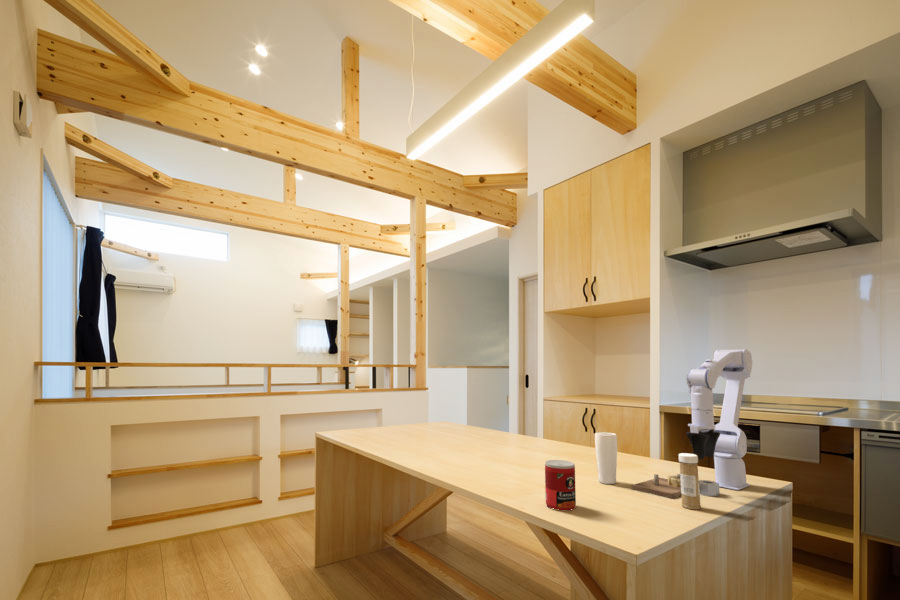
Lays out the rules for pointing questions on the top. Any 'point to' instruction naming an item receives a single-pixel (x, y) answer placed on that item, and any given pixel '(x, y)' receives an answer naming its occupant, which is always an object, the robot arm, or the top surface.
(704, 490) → the loose gear
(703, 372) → the robot arm
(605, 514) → the top surface
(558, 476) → the canned food
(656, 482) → the gear board
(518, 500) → the top surface
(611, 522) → the top surface
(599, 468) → the drinking glass
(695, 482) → the sprinkles bottle
